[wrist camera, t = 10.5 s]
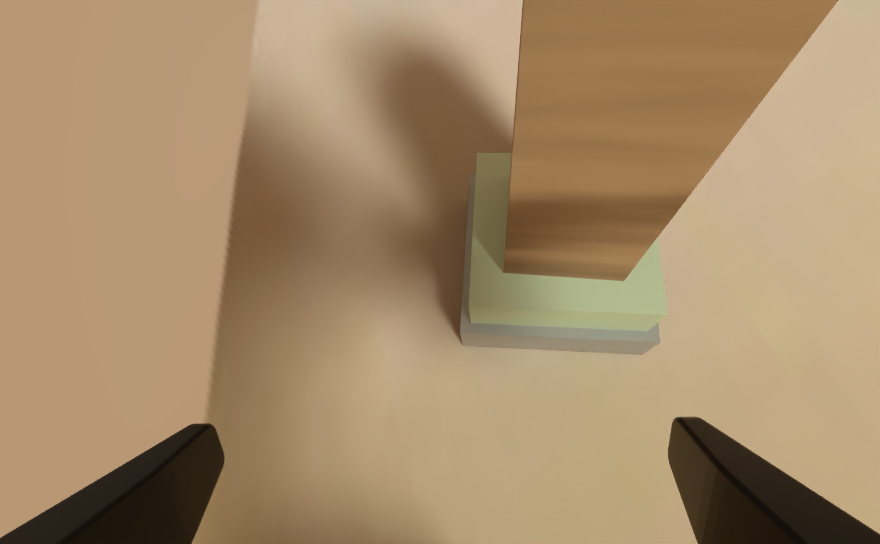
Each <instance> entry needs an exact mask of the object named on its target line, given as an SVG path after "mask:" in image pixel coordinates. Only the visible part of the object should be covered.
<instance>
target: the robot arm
mask: <svg viewBox="0 0 880 544" xmlns="http://www.w3.org/2000/svg"><path fill="white" fill-rule="evenodd" d="M668 459H669V464H670V467H671V470H672V472H673V475H674V478H675V481H676V484H677V487H678V489H679V492H680V495H681V498H682V501H683V504H684V506H685V509H686V512H687V515H688V518H689V520H690V523H691V526H692V529H693V532H694V535H695V537H696V540H697V542H698V544H880V534H879V533H877V532H876V531H874V530H873V529H871V528H869V527H868V526H866V525H865V524H863V523H862V522H860V521H859V520H857V519H856V518H854V517H852V516H851V515H849V514H848V513H846V512H845V511H843V510H842V509H840V508H839V507H837V506H835V505H834V504H832V503H831V502H829V501H828V500H826V499H825V498H823V497H822V496H820V495H819V494H817V493H815V492H814V491H812V490H811V489H809V488H808V487H806V486H805V485H803V484H802V483H800V482H798V481H797V480H795V479H794V478H792V477H791V476H789V475H788V474H786V473H785V472H783V471H781V470H780V469H778V468H777V467H775V466H774V465H772V464H771V463H769V462H768V461H766V460H764V459H763V458H761V457H760V456H758V455H757V454H755V453H754V452H752V451H751V450H749V449H748V448H746V447H744V446H743V445H741V444H740V443H738V442H737V441H735V440H734V439H732V438H731V437H729V436H727V435H726V434H724V433H723V432H721V431H720V430H718V429H717V428H715V427H714V426H712V425H710V424H709V423H707V422H706V421H704V420H703V419H701V418H699V417H677V418H675V419H674V420H673V422H672V427H671V434H670V441H669V447H668ZM223 465H224V452H223V449H222V446H221V443H220V440H219V437H218V434H217V431H216V429H215V427H214V426H213V425H212V424H191V425H189V426H187V427H186V428H184V429H182V430H181V431H179V432H177V433H175V434H174V435H172V436H170V437H169V438H167V439H166V440H164V441H162V442H160V443H159V444H157V445H155V446H154V447H152V448H151V449H149V450H147V451H145V452H144V453H142V454H140V455H139V456H137V457H135V458H134V459H132V460H130V461H129V462H127V463H125V464H123V465H122V466H120V467H118V468H117V469H115V470H113V471H112V472H110V473H108V474H107V475H105V476H103V477H102V478H100V479H98V480H97V481H95V482H93V483H92V484H90V485H88V486H87V487H85V488H83V489H82V490H80V491H78V492H77V493H75V494H73V495H71V496H70V497H68V498H67V499H65V500H63V501H61V502H60V503H58V504H56V505H55V506H53V507H52V508H50V509H48V510H46V511H45V512H43V513H41V514H40V515H38V516H36V517H35V518H33V519H31V520H30V521H28V522H26V523H25V524H23V525H21V526H19V527H18V528H16V529H15V530H13V531H11V532H9V533H8V534H6V535H4V536H3V537H1V538H0V544H191V543H192V541H193V539H194V536H195V534H196V532H197V530H198V527H199V525H200V522H201V520H202V517H203V515H204V512H205V510H206V508H207V505H208V503H209V500H210V498H211V495H212V493H213V490H214V488H215V485H216V483H217V481H218V478H219V476H220V473H221V471H222V468H223Z"/></svg>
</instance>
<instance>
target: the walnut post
mask: <svg viewBox="0 0 880 544" xmlns="http://www.w3.org/2000/svg"><path fill="white" fill-rule="evenodd" d="M837 1H838V0H523V8H522V21H521V35H520V48H519V62H518V75H517V89H516V103H515V116H514V130H513V143H512V157H511V170H510V184H509V199H508V213H507V228H506V242H505V257H504V271H503V273H512V274H526V275H541V276H555V277H570V278H584V279H599V280H613V281H624V280H625V279H626V278H627V277H628V275H629V274H630V273H631V271H632V270H633V269H634V267H635V266H636V265H637V263H638V262H639V261H640V260H641V258H642V257H643V256H644V254H645V253H646V252H647V250H648V249H649V248H650V246H651V245H652V244H653V242H654V241H655V240H656V239H657V237H658V236H659V235H660V233H661V232H662V231H663V229H664V228H665V227H666V225H667V224H668V223H669V222H670V220H671V219H672V218H673V216H674V215H675V214H676V212H677V211H678V210H679V208H680V207H681V206H682V204H683V203H684V202H685V201H686V199H687V198H688V197H689V195H690V194H691V193H692V191H693V190H694V189H695V187H696V186H697V185H698V184H699V182H700V181H701V180H702V178H703V177H704V176H705V174H706V173H707V172H708V170H709V169H710V168H711V166H712V165H713V164H714V163H715V161H716V160H717V159H718V157H719V156H720V155H721V153H722V152H723V151H724V149H725V148H726V147H727V146H728V144H729V143H730V142H731V140H732V139H733V138H734V136H735V135H736V134H737V132H738V131H739V130H740V128H741V127H742V126H743V125H744V123H745V122H746V121H747V119H748V118H749V117H750V115H751V114H752V113H753V111H754V110H755V109H756V108H757V106H758V105H759V104H760V102H761V101H762V100H763V98H764V97H765V96H766V94H767V93H768V92H769V90H770V89H771V88H772V87H773V85H774V84H775V83H776V81H777V80H778V79H779V77H780V76H781V75H782V73H783V72H784V71H785V70H786V68H787V67H788V66H789V64H790V63H791V62H792V60H793V59H794V58H795V56H796V55H797V54H798V52H799V51H800V50H801V49H802V47H803V46H804V45H805V43H806V42H807V41H808V39H809V38H810V37H811V35H812V34H813V33H814V32H815V30H816V29H817V28H818V26H819V25H820V24H821V22H822V21H823V20H824V18H825V17H826V16H827V14H828V13H829V12H830V11H831V9H832V8H833V7H834V5H835V4H836V3H837Z"/></svg>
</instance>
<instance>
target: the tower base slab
mask: <svg viewBox="0 0 880 544" xmlns="http://www.w3.org/2000/svg"><path fill="white" fill-rule="evenodd" d="M475 179H476V174H469V189H468V205H467V222H466V239H465V255H464V272H463V288H462V305H461V322H460V336H461V340H462V344H463V345H464V346H484V347H503V348H523V349H542V350H562V351H581V352H601V353H621V354H640V355H642V354H644V353H645V352H647V351H648V350H650V349H651V348H653V347H654V346H656V345H657V344H659V343H660V337H659V328H658V323H657V324H656V325H654V326H653V327H652V328H651V329H649V330H648V331H632V330H610V329H587V328H565V327H543V326H520V325H498V324H476V323H471V320H470V313H469V290H470V272H471V253H472V234H473V216H474V197H475Z"/></svg>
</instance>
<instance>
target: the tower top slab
mask: <svg viewBox="0 0 880 544" xmlns="http://www.w3.org/2000/svg"><path fill="white" fill-rule="evenodd" d="M511 157H512V153H477V160H476V179H475V197H474V216H473V234H472V253H471V272H470V290H469V313H470V320H471V323H476V324H498V325H520V326H543V327H565V328H587V329H610V330H632V331H648V330H649V329H651V328H652V327H653V326H654V325H656V324H657V323H658V322H659V321H661V320H662V319H663V318H664V317H666V316H667V315H668V312H667V304H666V296H665V288H664V281H663V273H662V265H661V257H660V250H659V242H658V237H657V239H656V240H655V241H654V242H653V244H652V245H651V246H650V248H649V249H648V250H647V252H646V253H645V254H644V256H643V257H642V258H641V260H640V261H639V262H638V263H637V265H636V266H635V267H634V269H633V270H632V271H631V273H630V274H629V275H628V277H627V278H626V279H625V280H624V281H613V280H599V279H584V278H570V277H555V276H541V275H526V274H512V273H503V271H504V257H505V242H506V228H507V213H508V199H509V184H510V170H511Z"/></svg>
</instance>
